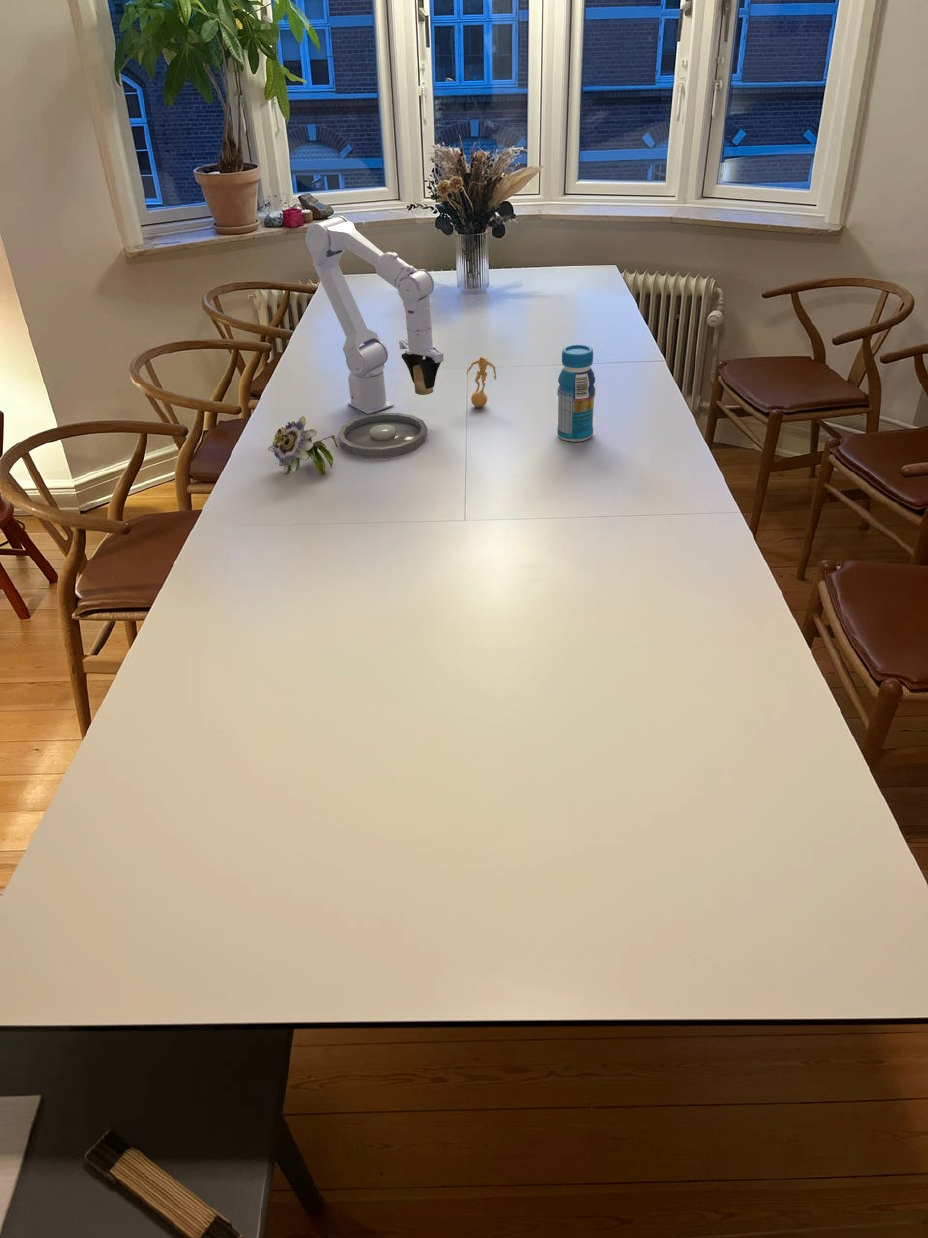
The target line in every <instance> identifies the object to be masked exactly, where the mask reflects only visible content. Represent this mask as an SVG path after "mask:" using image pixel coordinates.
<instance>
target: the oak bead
mask: <svg viewBox="0 0 928 1238" xmlns="http://www.w3.org/2000/svg"><path fill="white" fill-rule="evenodd" d="M413 373H414V383H413V384H414V385H413V386H414V393H415V394H416V395H421V396H427V395H430V394H433V392H434V387H432V388H429V389H426V388H425V384H424V378H423V373H422V370H421V367H420V365H419V364H417V365H415V366H413Z"/></svg>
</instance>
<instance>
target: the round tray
mask: <svg viewBox="0 0 928 1238" xmlns="http://www.w3.org/2000/svg"><path fill="white" fill-rule="evenodd" d="M428 435H429V434H428V426H427V425H426V423H425V421H424V420H423V419H421V418H419V417H417V416H415V415H411V414H408V413H402V412H378V413H371V414H365V415H362V416H360V417H358V418H353V419H351V420H350V421H348V422H347V423H345V424H344V425H342V426H341V427H340V429H339V431H338V433H337V437H338V444H339V446H340V448H341V449H342V450H343V451H345V452H347V453H348V454H350V455H353V456H358V457H363V458H383V459H384V458H389V457H394V456H395V457H396V456H401V455H404V454H407V453H410V452H412V451H415V450H417V449H418V448H420V447H421V446H422V445H424V444H425V443H426V441H427V437H428Z"/></svg>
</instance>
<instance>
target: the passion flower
mask: <svg viewBox="0 0 928 1238" xmlns="http://www.w3.org/2000/svg"><path fill="white" fill-rule="evenodd" d="M306 420H307V419H306V417H305V416H304V415H302V416H301V417H300V418H299V419H298V421H294V420H292V421H291V422H290V421H288V422H287V424H285V427H283V426H281V428H278V430H277V431H276V432H275V434H274V438H273V440H272V445H271V446H269V447H268V451H270V452H272V453H273V455H274V456H275V457H276V458H277V460H278V462H279V464H278V466H279V467H283V466H284V469H283V474H289V473H290V472H291V471H292V472H293V473H296V472H297V471H298V470H299V468H300V461H301V460H302V461H307V460H309V458H310V459H311V461H313V464H314V466H315V468H316V471H317V472H318V473H319V474H321V475H326V463H325V459H326V461H327V462H328V464H329V466H330V469H332V467H333V464H334V463H333V462H334V458H333V455H332V453H331V452H330V450H329V449H328V448H327V446H326V444H325V443H323V441H324V440H327V439H330V438H331V439H333V441H334V444H335V447H336V448H337V447H339V446H340V443H339V441H338V440H337V438H336V435H335V434H333V435H330V436H328V437H325V438H323V439H321V440H317V441H315V442H312V441H313V438H314V437H315V436H317V429H316V428H312V429H308V430H305V426H306V423H307V422H306ZM319 451H320V452H321V453H320V452H319ZM321 454H323V456H324V457H325V459H324V457H323V456H322V455H321Z"/></svg>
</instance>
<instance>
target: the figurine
mask: <svg viewBox="0 0 928 1238" xmlns="http://www.w3.org/2000/svg"><path fill="white" fill-rule="evenodd" d="M476 364H477V365H478V367H479V370H478V371H477V372H476V377H475V379H474V382H475V383H476V385H477V387H476V389H475V391H474V392H473V393H472V395H471V396H470V400H471V404H472V405H473V406H474V407H475V408H483V407H484V406H485V405H486V404H487V401H488V395H487V393H485V392H484V390H485V385H486V382H485V381H486V379H487V375H488V372H487V371H486V370H487V367H488V366H490V367H491V368H492V370H493V374H494V376H493V380H497V373H496V372H497V371H496V366H495V365H494V364H493V363H492V362H490V360H489V359H488V358H487V357H485V356H484V357H483V356H480V357H479V359H477V360H476V361H473V362H472V363H471V365H470V366H469V367H468V369H467V371H466V376H467V375H468V373H469V371H470V370H471V369H472V368H473V367H474V365H476ZM479 380H481V382H479ZM480 384H482V388H481V390H480Z"/></svg>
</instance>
